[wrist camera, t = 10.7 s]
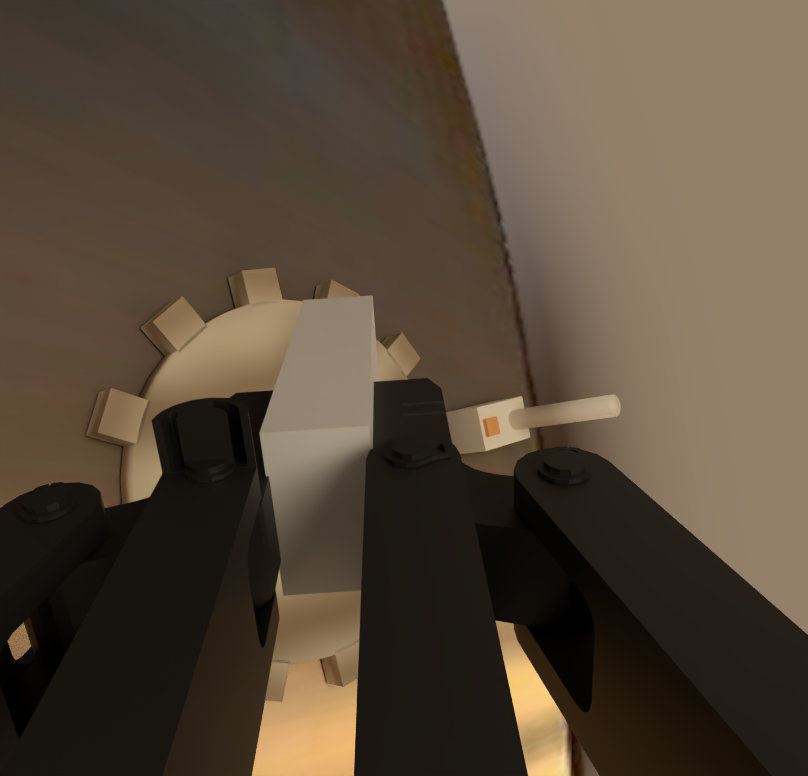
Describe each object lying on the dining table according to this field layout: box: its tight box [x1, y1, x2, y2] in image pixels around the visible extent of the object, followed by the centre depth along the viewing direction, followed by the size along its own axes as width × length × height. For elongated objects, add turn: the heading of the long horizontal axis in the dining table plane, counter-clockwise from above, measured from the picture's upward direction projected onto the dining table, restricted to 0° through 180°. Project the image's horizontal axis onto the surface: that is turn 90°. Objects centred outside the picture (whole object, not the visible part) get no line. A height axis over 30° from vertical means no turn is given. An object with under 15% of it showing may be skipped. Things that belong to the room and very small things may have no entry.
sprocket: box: [86, 268, 420, 702], centre depth 39 cm, size 23×23×12 cm
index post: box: [446, 394, 621, 454], centre depth 50 cm, size 5×3×11 cm, turn 105°
